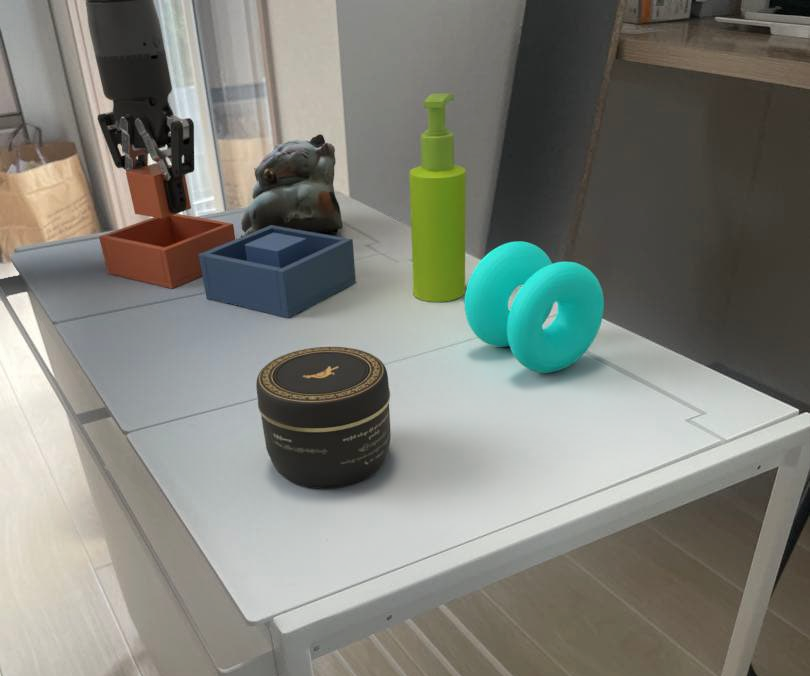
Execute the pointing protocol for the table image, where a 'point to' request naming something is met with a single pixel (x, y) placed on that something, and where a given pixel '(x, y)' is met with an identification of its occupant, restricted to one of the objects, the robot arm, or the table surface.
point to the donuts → (534, 306)
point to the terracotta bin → (163, 248)
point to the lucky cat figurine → (295, 189)
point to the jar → (325, 415)
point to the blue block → (276, 250)
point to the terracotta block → (151, 192)
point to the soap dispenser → (438, 211)
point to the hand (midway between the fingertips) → (162, 208)
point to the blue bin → (279, 273)
